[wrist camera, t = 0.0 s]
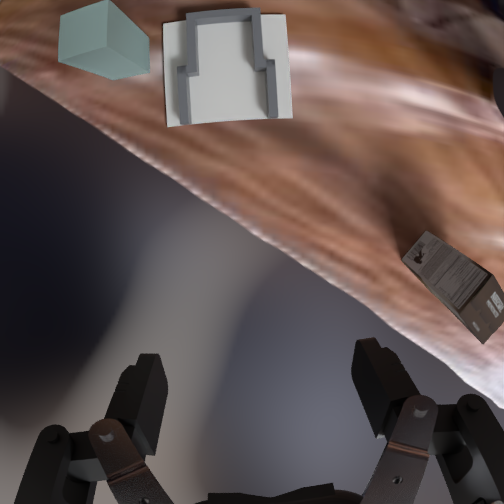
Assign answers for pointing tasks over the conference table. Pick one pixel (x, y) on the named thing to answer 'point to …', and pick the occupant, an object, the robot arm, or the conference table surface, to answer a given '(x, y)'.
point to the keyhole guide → (226, 67)
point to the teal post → (103, 42)
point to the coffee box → (458, 284)
